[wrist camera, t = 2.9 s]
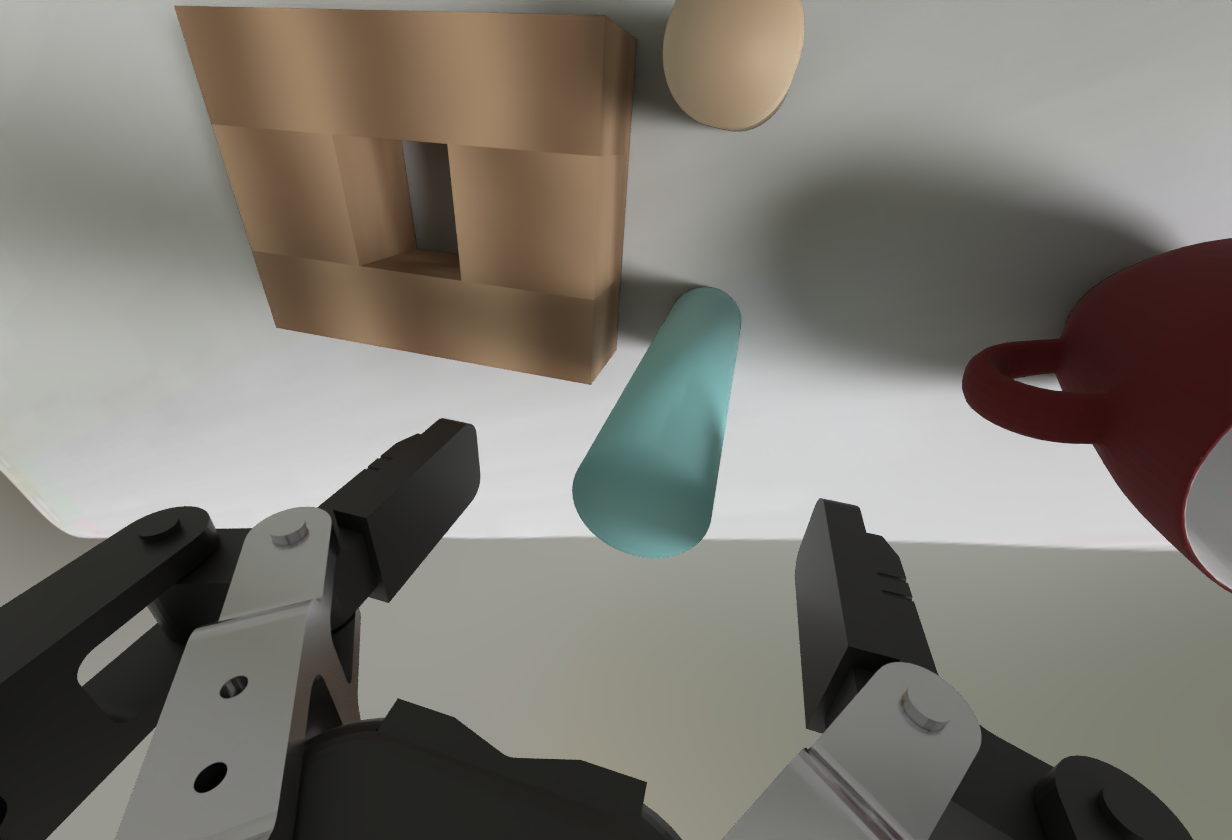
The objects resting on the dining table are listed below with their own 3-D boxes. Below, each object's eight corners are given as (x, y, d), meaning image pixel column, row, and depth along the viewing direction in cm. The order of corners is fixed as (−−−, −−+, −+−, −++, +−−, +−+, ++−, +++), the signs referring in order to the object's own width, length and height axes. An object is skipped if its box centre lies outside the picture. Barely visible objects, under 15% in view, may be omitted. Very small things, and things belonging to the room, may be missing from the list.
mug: (930, 438, 21) (1032, 627, 13) (918, 259, 18) (1045, 357, 10) (1267, 397, 17) (1722, 632, 9) (1329, 158, 14) (2121, 181, 6)
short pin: (802, 21, 16) (821, -47, 10) (780, 134, 18) (785, 131, 12) (705, 19, 17) (670, -47, 11) (692, 128, 18) (656, 122, 12)
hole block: (636, 39, 17) (604, 15, 14) (616, 350, 23) (590, 384, 20) (271, 27, 20) (173, 5, 17) (337, 304, 27) (276, 327, 23)
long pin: (747, 292, 21) (723, 461, 10) (733, 361, 22) (699, 571, 11) (673, 282, 21) (573, 431, 10) (665, 350, 23) (571, 539, 12)
